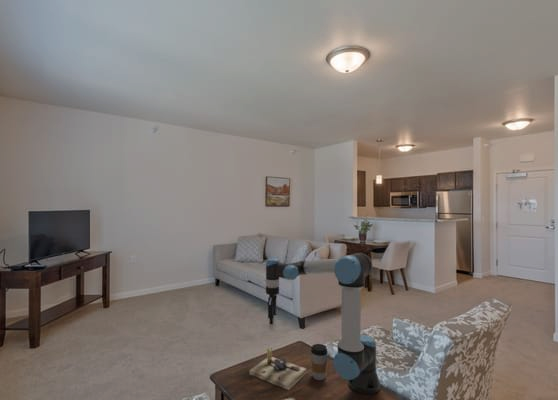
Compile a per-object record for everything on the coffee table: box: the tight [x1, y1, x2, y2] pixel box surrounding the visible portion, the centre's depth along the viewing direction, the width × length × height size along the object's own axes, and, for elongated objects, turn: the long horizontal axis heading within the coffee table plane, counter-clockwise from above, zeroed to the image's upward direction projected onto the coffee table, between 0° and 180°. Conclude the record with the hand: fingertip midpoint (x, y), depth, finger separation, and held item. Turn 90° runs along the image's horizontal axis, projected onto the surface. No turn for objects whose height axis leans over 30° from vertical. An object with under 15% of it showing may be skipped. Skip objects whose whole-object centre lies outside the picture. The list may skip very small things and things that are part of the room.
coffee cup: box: [310, 343, 328, 381], centre depth 150 cm, size 8×8×15 cm
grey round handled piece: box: [266, 348, 290, 370], centre depth 155 cm, size 14×9×7 cm, turn 57°
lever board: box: [248, 356, 308, 391], centre depth 153 cm, size 24×18×4 cm
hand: (272, 328), depth 165 cm, fingers open, 3 cm apart
